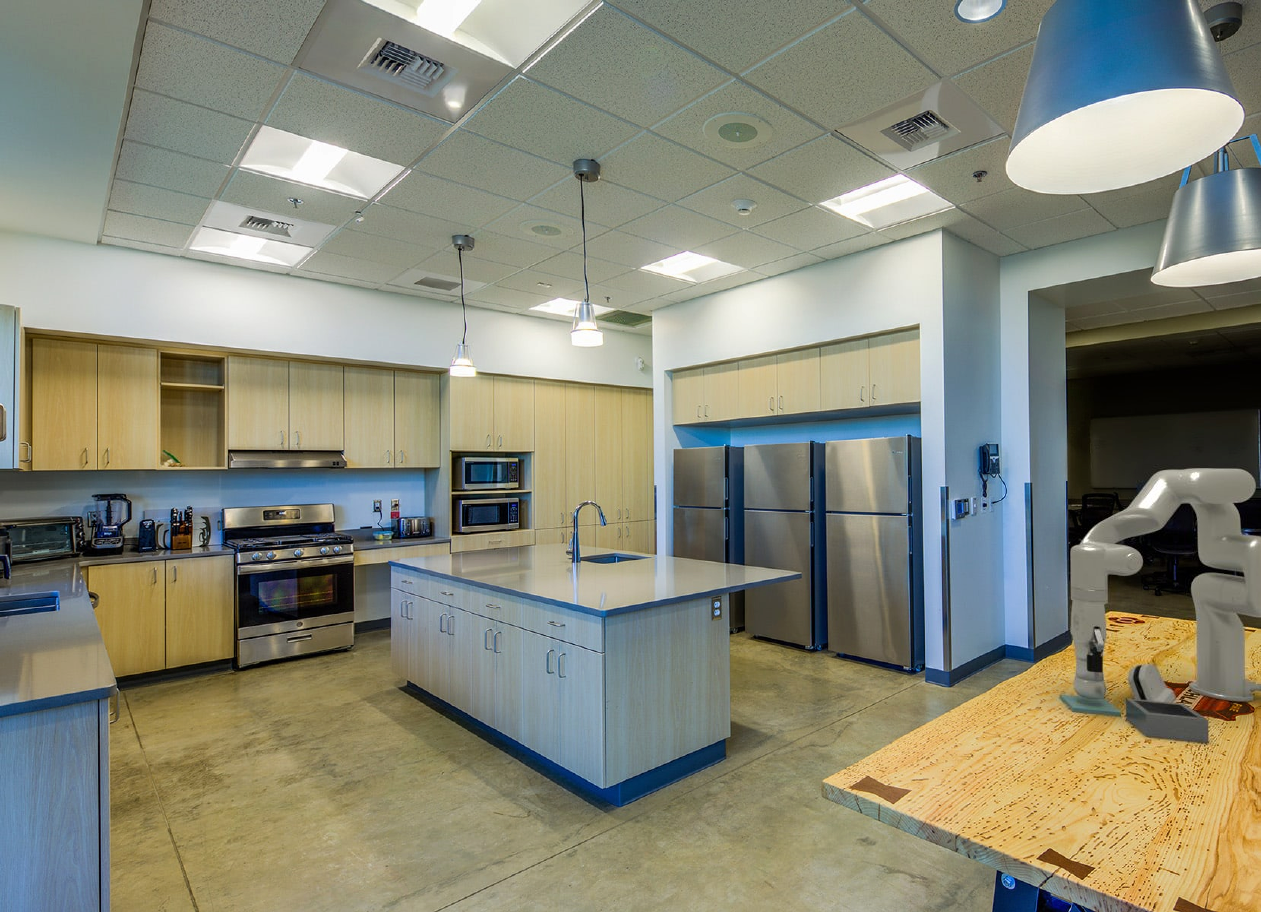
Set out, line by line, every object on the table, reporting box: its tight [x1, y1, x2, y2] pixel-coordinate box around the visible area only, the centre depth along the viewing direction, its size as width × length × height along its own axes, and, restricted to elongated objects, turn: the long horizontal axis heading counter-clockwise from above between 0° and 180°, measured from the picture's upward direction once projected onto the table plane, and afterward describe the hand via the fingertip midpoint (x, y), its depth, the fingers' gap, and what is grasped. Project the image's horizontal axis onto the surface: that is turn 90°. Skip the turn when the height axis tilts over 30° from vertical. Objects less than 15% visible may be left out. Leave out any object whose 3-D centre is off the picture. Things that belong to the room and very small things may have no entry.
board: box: [1058, 693, 1122, 718], centre depth 163 cm, size 10×10×1 cm
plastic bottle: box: [1072, 632, 1107, 699], centre depth 164 cm, size 6×7×20 cm
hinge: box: [1127, 663, 1177, 703], centre depth 168 cm, size 17×5×10 cm, turn 132°
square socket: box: [1125, 697, 1209, 744], centre depth 149 cm, size 11×10×5 cm
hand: (1089, 667), depth 163 cm, fingers closed on plastic bottle, 6 cm apart
